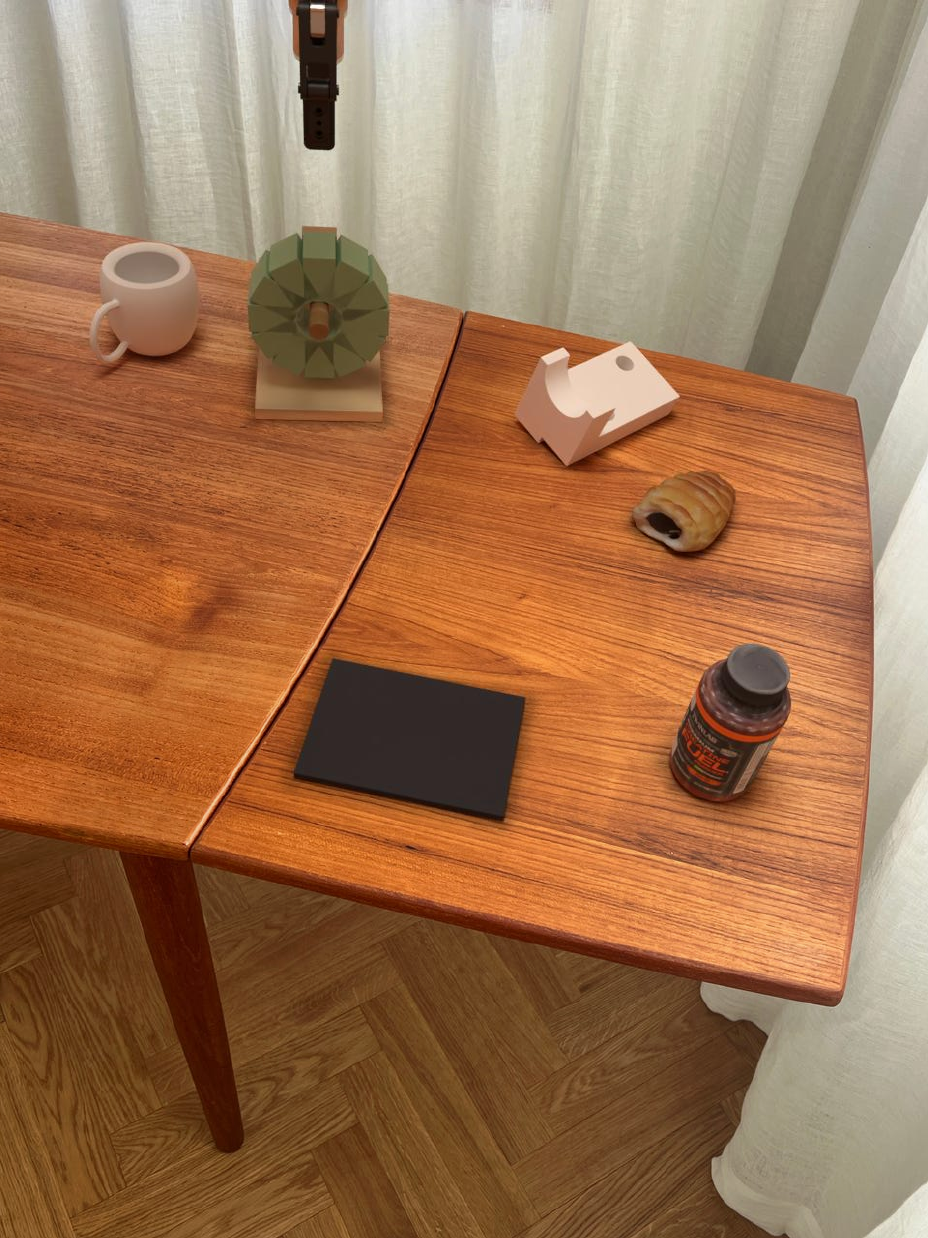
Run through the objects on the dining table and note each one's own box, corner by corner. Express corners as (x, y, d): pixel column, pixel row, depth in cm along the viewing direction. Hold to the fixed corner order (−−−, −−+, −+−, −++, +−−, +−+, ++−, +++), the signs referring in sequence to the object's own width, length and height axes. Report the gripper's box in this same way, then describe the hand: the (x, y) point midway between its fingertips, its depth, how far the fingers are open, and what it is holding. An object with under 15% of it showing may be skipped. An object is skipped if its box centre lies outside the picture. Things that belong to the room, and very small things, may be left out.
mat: (293, 777, 73) (293, 772, 72) (332, 663, 80) (332, 657, 79) (502, 821, 72) (503, 816, 72) (524, 702, 79) (525, 696, 78)
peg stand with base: (382, 425, 97) (388, 312, 89) (255, 423, 96) (248, 307, 87) (377, 340, 106) (382, 228, 97) (260, 336, 104) (255, 223, 96)
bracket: (562, 472, 97) (593, 418, 91) (514, 414, 99) (540, 357, 92) (664, 420, 103) (699, 366, 97) (616, 366, 105) (647, 310, 99)
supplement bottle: (650, 770, 76) (691, 666, 68) (695, 719, 79) (740, 614, 71) (725, 822, 74) (777, 721, 65) (768, 767, 77) (823, 664, 69)
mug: (151, 302, 106) (141, 226, 100) (222, 334, 104) (216, 259, 98) (60, 362, 99) (44, 284, 93) (135, 398, 97) (123, 320, 91)
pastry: (686, 473, 97) (697, 439, 94) (751, 513, 95) (764, 479, 92) (623, 524, 92) (633, 490, 89) (690, 567, 89) (703, 534, 87)
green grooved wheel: (386, 379, 97) (392, 260, 89) (251, 376, 96) (244, 254, 87) (384, 352, 100) (390, 234, 91) (253, 348, 99) (247, 228, 90)
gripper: (260, -176, 74) (271, 74, 86) (251, -103, 64) (264, 165, 77) (373, -167, 75) (368, 79, 87) (380, -94, 65) (373, 170, 78)
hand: (319, 119), depth 82 cm, fingers open, 8 cm apart
